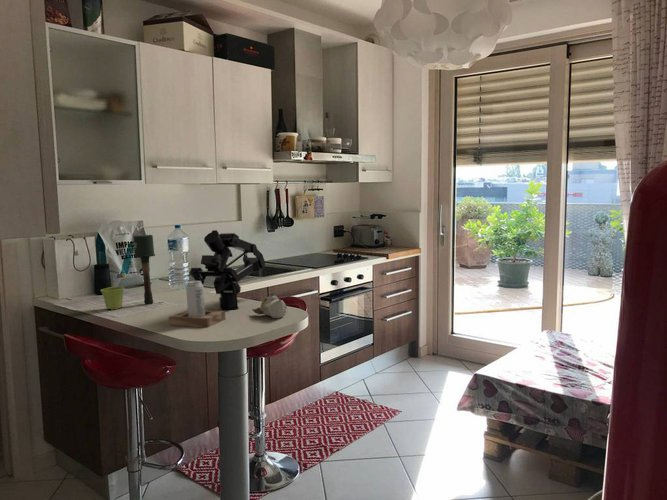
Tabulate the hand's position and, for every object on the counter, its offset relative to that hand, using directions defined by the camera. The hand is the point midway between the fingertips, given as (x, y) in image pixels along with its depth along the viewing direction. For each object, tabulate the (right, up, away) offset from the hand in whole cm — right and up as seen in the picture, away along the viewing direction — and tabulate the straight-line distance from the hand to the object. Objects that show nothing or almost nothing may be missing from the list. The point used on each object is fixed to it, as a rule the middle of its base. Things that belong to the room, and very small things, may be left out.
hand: (206, 292), depth 201 cm
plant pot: (-45, -9, +26) cm, 53 cm away
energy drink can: (-2, -11, -6) cm, 12 cm away
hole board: (-2, -10, -6) cm, 12 cm away
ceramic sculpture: (+25, -9, -1) cm, 26 cm away
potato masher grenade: (-33, -8, +33) cm, 47 cm away
